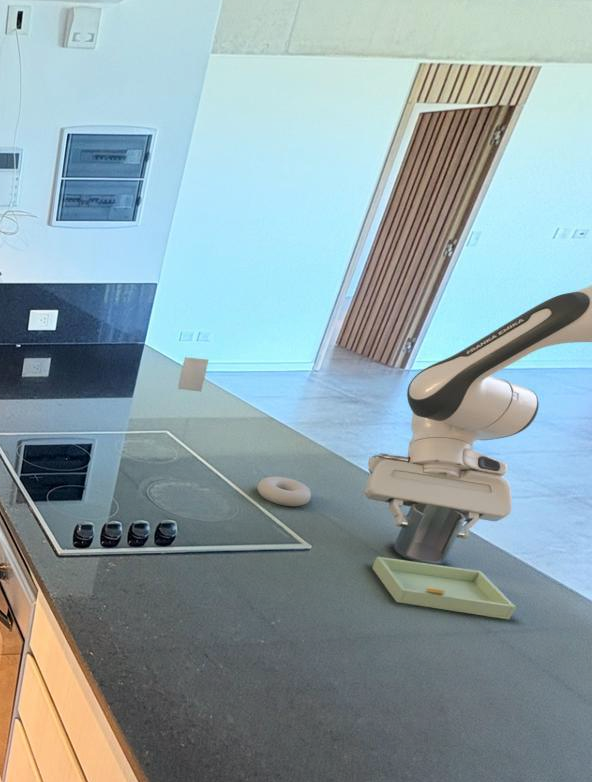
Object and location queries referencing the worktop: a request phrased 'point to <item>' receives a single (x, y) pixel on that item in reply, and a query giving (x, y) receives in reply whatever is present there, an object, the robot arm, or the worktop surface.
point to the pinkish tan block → (193, 374)
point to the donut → (284, 491)
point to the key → (435, 591)
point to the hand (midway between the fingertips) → (430, 531)
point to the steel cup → (429, 533)
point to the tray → (442, 587)
